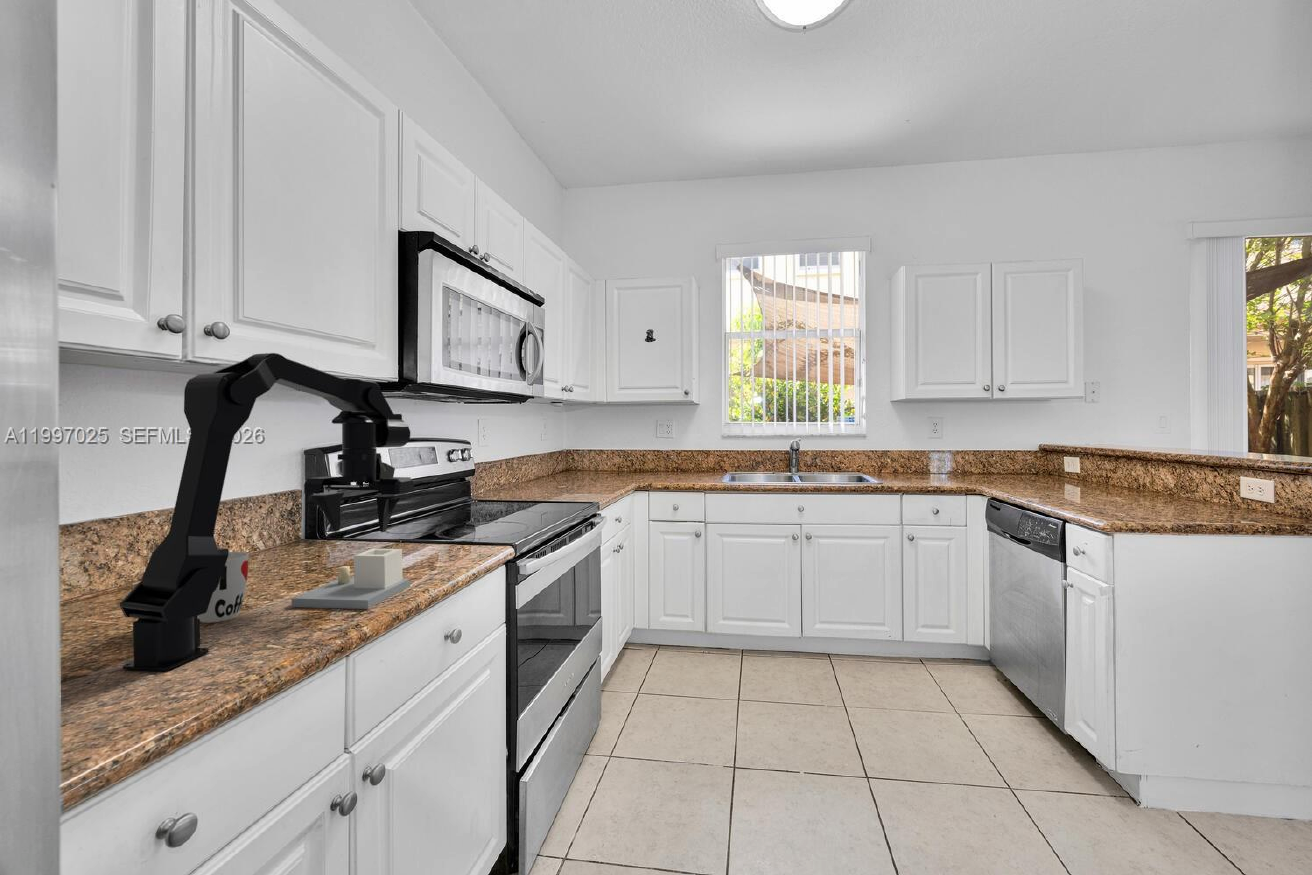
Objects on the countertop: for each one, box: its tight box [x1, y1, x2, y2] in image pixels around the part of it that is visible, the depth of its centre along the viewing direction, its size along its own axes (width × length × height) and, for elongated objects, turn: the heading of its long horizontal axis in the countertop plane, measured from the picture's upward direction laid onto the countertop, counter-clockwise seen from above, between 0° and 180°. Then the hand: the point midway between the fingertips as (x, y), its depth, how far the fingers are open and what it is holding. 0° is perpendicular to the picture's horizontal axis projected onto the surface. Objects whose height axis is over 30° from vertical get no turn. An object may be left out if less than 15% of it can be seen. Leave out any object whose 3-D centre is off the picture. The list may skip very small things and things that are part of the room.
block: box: [353, 548, 403, 589], centre depth 108 cm, size 6×6×6 cm
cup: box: [198, 551, 250, 624], centre depth 94 cm, size 8×8×10 cm
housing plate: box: [290, 565, 411, 610], centre depth 106 cm, size 14×14×4 cm
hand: (359, 531), depth 107 cm, fingers open, 9 cm apart
